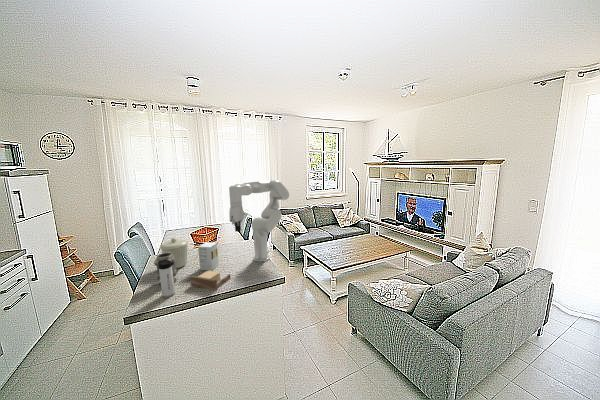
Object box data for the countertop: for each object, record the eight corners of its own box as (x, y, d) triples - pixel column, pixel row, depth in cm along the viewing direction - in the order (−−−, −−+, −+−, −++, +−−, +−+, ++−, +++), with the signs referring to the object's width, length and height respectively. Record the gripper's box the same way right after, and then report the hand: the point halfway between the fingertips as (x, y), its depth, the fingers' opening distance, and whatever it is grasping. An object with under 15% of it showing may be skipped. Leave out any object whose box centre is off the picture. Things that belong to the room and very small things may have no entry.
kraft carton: (209, 277, 155) (208, 270, 154) (220, 280, 151) (219, 272, 150) (197, 285, 146) (196, 277, 145) (208, 287, 142) (207, 279, 141)
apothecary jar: (178, 275, 158) (175, 249, 155) (178, 283, 147) (175, 256, 144) (157, 280, 152) (153, 253, 149) (155, 289, 142) (152, 260, 139)
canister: (165, 274, 160) (162, 244, 157) (159, 265, 174) (156, 237, 170) (194, 265, 172) (191, 237, 169) (186, 258, 185) (183, 232, 182)
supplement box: (211, 270, 163) (209, 247, 161) (199, 270, 165) (197, 246, 163) (219, 264, 173) (217, 242, 170) (207, 264, 175) (205, 242, 172)
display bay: (208, 274, 158) (208, 265, 157) (231, 278, 152) (231, 269, 151) (191, 286, 144) (190, 276, 143) (215, 290, 138) (214, 281, 137)
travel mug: (165, 292, 138) (160, 259, 134) (176, 291, 138) (172, 258, 135) (159, 298, 132) (155, 264, 128) (172, 297, 132) (167, 263, 129)
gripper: (237, 202, 166) (239, 227, 169) (224, 206, 152) (226, 234, 155) (247, 202, 163) (248, 228, 166) (234, 206, 149) (236, 235, 152)
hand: (238, 231), depth 160 cm, fingers closed
